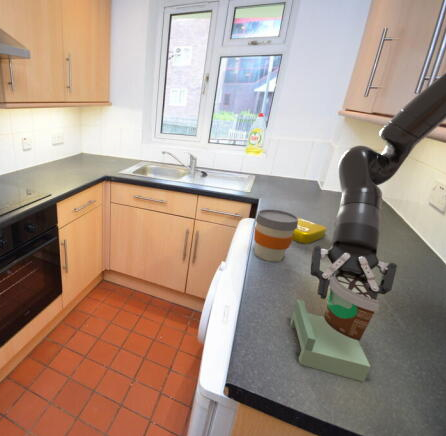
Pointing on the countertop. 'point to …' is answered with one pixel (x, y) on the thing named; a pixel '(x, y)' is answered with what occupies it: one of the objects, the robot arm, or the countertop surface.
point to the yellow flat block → (308, 231)
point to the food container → (349, 305)
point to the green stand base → (327, 346)
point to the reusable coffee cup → (274, 233)
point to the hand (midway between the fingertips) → (344, 304)
